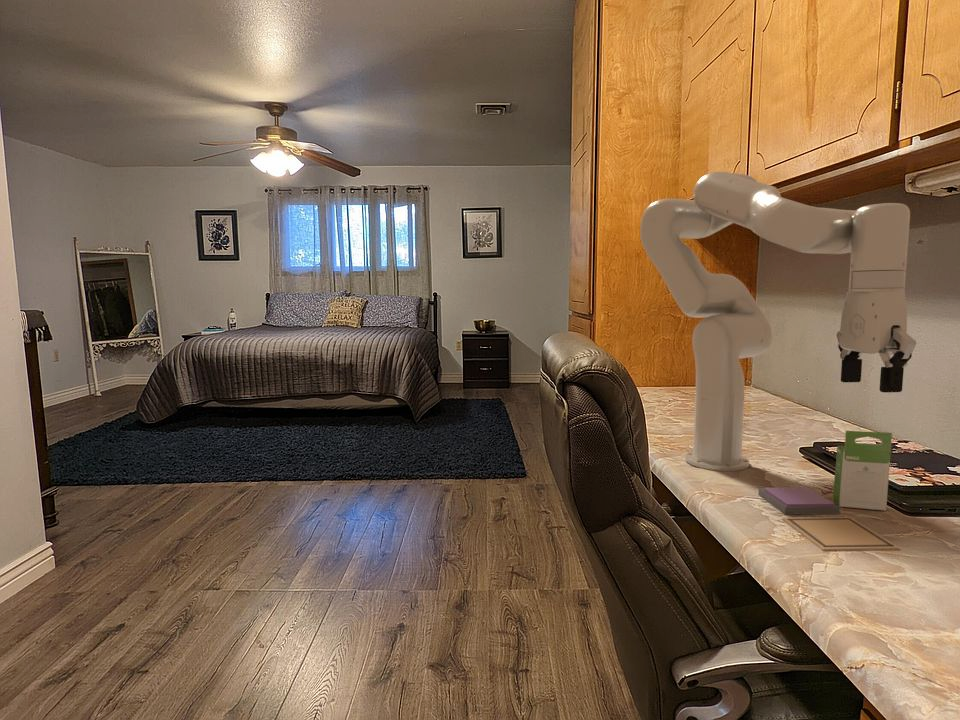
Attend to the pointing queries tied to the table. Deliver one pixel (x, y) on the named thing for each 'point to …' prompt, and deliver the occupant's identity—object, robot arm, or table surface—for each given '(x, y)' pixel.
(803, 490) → the ink pad
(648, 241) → the robot arm
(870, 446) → the ink box
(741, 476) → the table surface
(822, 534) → the marked card
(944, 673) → the table surface
